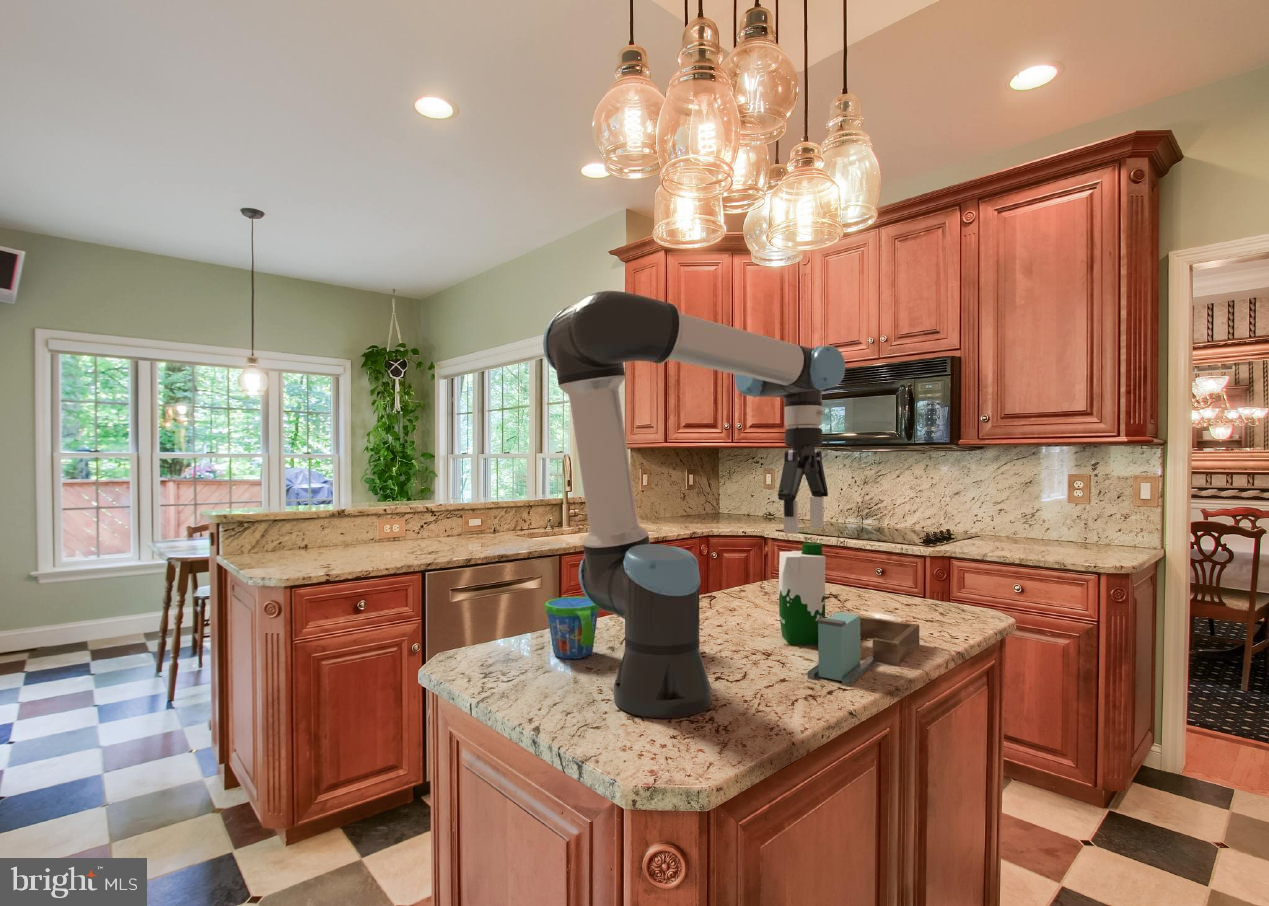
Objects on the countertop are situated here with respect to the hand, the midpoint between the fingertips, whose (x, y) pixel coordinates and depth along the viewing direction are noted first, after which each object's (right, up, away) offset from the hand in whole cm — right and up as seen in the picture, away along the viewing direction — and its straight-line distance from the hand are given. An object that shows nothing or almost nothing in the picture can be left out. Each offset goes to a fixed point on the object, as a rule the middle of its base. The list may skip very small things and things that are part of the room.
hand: (804, 530), depth 131 cm
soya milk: (0, -23, 0) cm, 23 cm away
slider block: (+1, -23, -20) cm, 30 cm away
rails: (+2, -23, -18) cm, 29 cm away
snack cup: (-47, -23, -9) cm, 53 cm away
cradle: (+12, -23, -5) cm, 26 cm away
